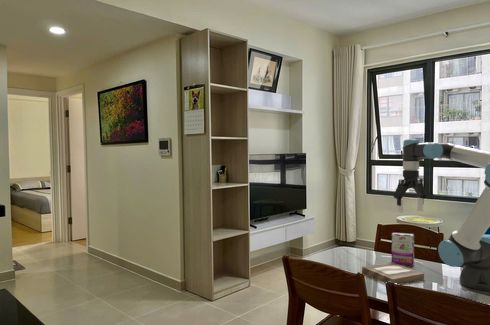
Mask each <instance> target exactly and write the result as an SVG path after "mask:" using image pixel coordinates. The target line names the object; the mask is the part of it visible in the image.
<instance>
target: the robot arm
mask: <svg viewBox="0 0 490 325" xmlns="http://www.w3.org/2000/svg"><path fill="white" fill-rule="evenodd" d="M420 159H447V160H452V161H455V162H459V163H461V164H467V165H470V166H474V167H478V168H481V169H484V175H485V176H484V178H485V179H484V180H483V183H484V186H485V187H484V189H483V190H482V192H481V194H480V195H479V197H478V198H477V200H476V202H475V203H474V205H473V206H472V208H471V210H470V212H469V213H468V214H467V216H466V217H465V219H464V221H463V223H462V224H461V225H460V227H459V229H457V230H454V231H452V232H451V234H450V236H449V237H448V239H444V240H442V241H440V242H439V244H438V248H437V250H438V251H437V252H438V256H439V257H440V259H441V261H442V262H443V263H444V264H445V265H447V266H449V267H450V268H451V267H453V268H460V267H462V270H461V272H460V274H459V278H458V279H459V283H460V284H461V285H463V286H465V287H467V288H470V289H473V290H478V291H488V292H489V291H490V235H488V236H487V235H485V233H486V232H487V230H488V229H489V228H490V151H485V150H480V149H476V148H472V147H467V146H463V145H458V144H457V143H454V142H432V141H431V142H420V139H416V138H414V139H410V138H409V139H404V140H403V143H402V169H403V170H402V178H403V179H400V178H399V179H398V183H397V186H396V189H395V191H394V194H393V198H394V199H395V200H396V205H397V213H400V214H401V213H404V199H403V197H404V196H405V194H406V193H407V191H408V190H409V189H413V190H414V192H415V194H416V195H417V211H420V212H423V211H424V199H426V198H427V197H428V193H427V192H426V189H425V186H424V183H423V181H424V180H423V179H422V178H419V177H420V171H419V169H420Z"/></svg>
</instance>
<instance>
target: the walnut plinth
mask: <svg viewBox="0 0 490 325" xmlns="http://www.w3.org/2000/svg"><path fill="white" fill-rule="evenodd" d="M361 273H362V274H364V275H366V276H369V277H371V278H373V279H375V280H378V281H380V282H383V283H385V284H387V283H386V282H388V281H391V282H394V283H397V284H399V285H403V284H408V283H414V282H415V283H416V282H419V281H424V280H425V273H423V272H421V271H418V270H415V269H412V268H410V267H407V266H405V265H401V264H396V263H393V262H392V261H390V262H385V263H384V262H383V263H379V264H378V263H377V264H372V265H371V264H370V265H365V266H362V267H361Z"/></svg>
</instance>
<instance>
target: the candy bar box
mask: <svg viewBox="0 0 490 325" xmlns="http://www.w3.org/2000/svg"><path fill="white" fill-rule="evenodd" d="M391 262H393V263H396V264H399V265H402V266H410V267H414V265H415V234H414V233H404V232H392V233H391Z"/></svg>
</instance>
